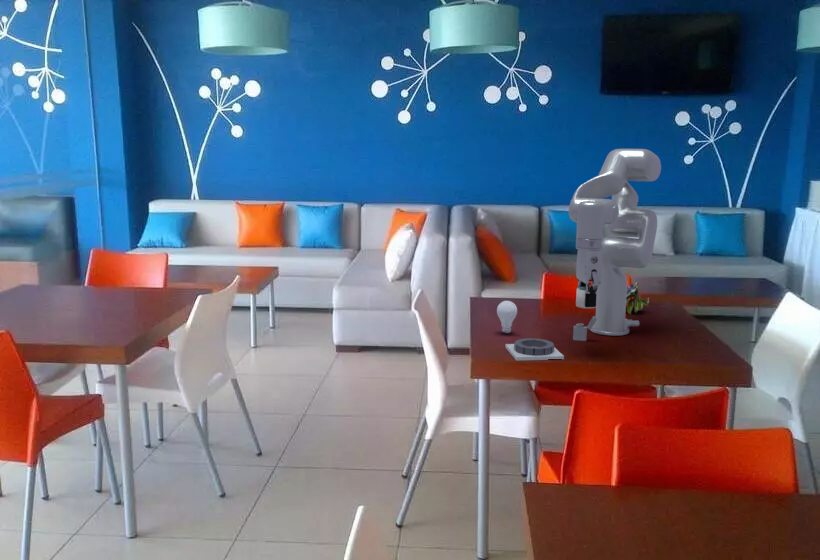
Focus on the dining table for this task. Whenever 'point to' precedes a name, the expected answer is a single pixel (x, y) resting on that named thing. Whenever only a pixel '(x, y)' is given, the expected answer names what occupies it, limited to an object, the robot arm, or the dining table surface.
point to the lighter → (582, 330)
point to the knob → (582, 297)
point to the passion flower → (634, 299)
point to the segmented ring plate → (533, 350)
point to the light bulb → (506, 315)
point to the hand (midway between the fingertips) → (586, 303)
